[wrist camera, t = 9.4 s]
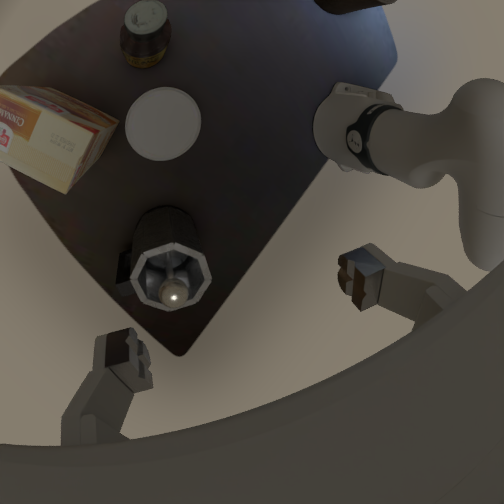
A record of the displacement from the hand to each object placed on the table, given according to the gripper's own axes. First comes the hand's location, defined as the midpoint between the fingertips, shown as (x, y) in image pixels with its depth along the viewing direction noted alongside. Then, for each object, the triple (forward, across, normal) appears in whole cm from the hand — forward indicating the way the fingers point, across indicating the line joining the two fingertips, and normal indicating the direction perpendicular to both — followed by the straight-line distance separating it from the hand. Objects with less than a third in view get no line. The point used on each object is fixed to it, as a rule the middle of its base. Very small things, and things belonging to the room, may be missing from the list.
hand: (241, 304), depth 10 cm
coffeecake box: (+39, +15, -9) cm, 43 cm away
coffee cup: (+39, +1, -4) cm, 39 cm away
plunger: (+34, +6, +16) cm, 38 cm away
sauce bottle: (+39, +1, -16) cm, 42 cm away
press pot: (+39, +8, +16) cm, 42 cm away
